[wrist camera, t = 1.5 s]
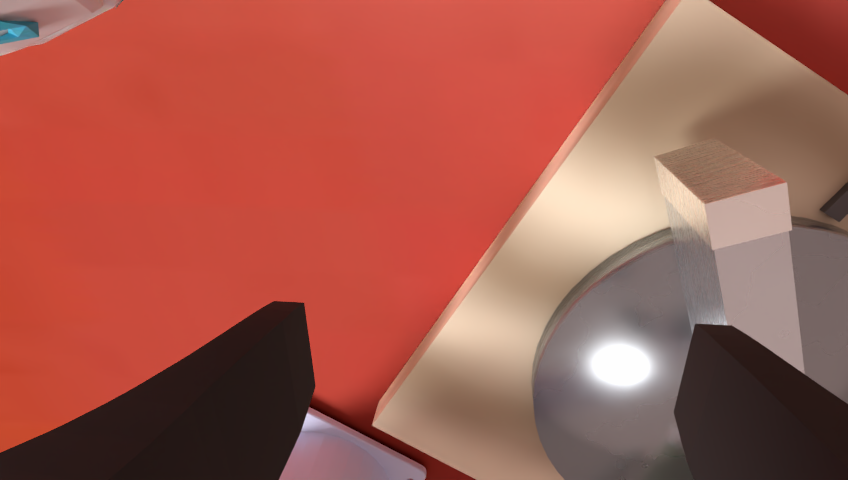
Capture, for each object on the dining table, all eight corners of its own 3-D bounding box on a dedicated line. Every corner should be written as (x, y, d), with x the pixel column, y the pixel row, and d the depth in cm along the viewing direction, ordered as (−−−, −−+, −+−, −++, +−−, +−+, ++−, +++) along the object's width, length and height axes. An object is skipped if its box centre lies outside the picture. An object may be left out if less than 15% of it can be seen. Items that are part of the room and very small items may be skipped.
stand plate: (720, 581, 27) (734, 618, 25) (378, 402, 24) (370, 430, 23) (1133, 299, 18) (1195, 329, 17) (673, -11, 16) (693, -13, 14)
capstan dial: (932, 484, 21) (1064, 628, 16) (578, 531, 24) (599, 661, 19) (931, 59, 15) (1143, 86, 10) (460, 202, 18) (449, 273, 13)
